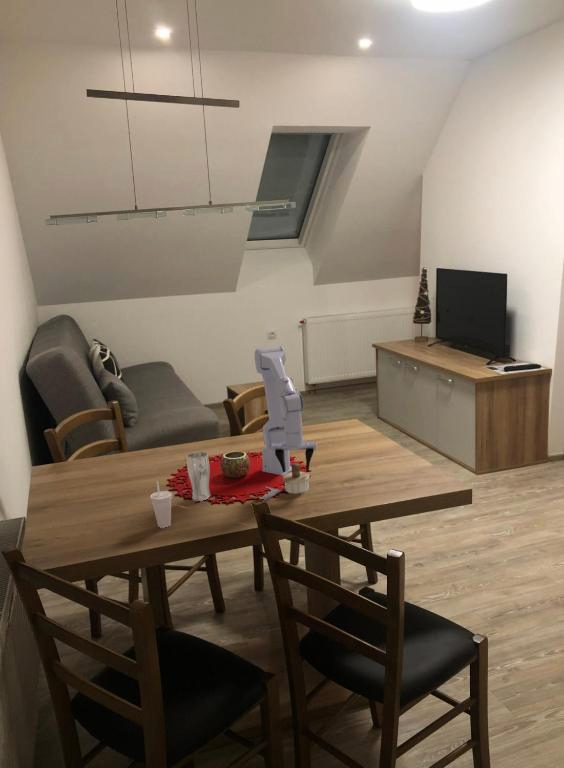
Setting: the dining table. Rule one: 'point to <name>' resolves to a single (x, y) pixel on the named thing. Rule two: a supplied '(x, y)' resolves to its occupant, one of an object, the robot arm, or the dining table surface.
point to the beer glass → (199, 475)
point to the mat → (270, 493)
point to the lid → (296, 475)
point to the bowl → (296, 487)
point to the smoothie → (162, 507)
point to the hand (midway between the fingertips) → (295, 470)
